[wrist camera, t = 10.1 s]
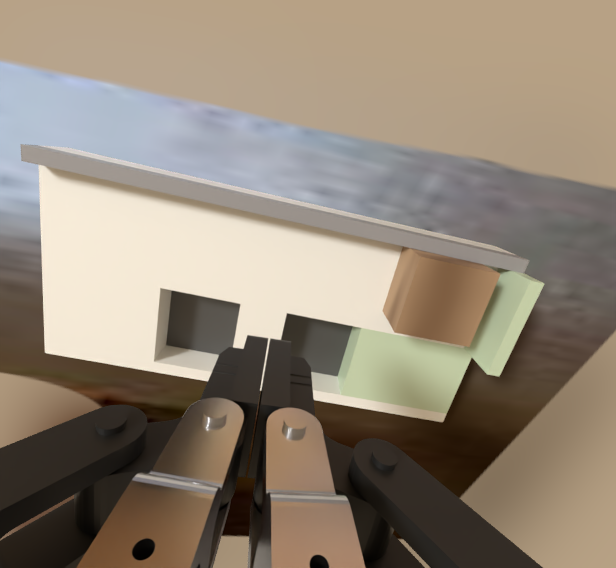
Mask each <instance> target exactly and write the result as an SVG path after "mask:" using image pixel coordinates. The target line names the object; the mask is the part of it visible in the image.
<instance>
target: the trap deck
mask: <svg viewBox="0 0 616 568" xmlns="http://www.w3.org/2000/svg"><path fill="white" fill-rule="evenodd" d="M21 160H22V161H25V162H29V163H33V164H38V165H39V186H40V217H41V247H42V277H43V308H44V338H45V353H49V354H54V355H60V356H66V357H72V358H77V359H83V360H89V361H94V362H100V363H106V364H112V365H117V366H123V367H129V368H134V369H140V370H146V371H152V372H157V373H163V374H169V375H174V376H180V377H186V378H192V379H197V380H203V381H208V380H209V378H210V375H211V373H212V371H213V368H214V366H215V364H216V361H217V359H218V356H219V354H220V353H221V352H223V351H224V350H226V349H227V348H228V347H234V348H240V349H244V345H245V342H246V338H247V335H251V336H258V337H264V338H268V344H267V350H266V357H265V363H264V369H263V375H262V381H261V388H260V391H261V389H262V383H263V377H264V372H265V366H266V360H267V354H268V349H269V343H270V338H271V339H278V340H284V341H291V356H294V357H301V358H304V359H305V360H306V361H307V363H308V364H309V365H310V367H311V375H312V378H311V379H312V387H313V399H314V400H317V401H323V402H329V403H334V404H340V405H346V406H352V407H357V408H363V409H369V410H374V411H380V412H386V413H392V414H397V415H403V416H409V417H415V418H420V419H426V420H432V421H437V422H443V421H444V419H445V417H446V414H447V412H448V410H449V408H450V405H451V403H452V401H453V398H454V396H455V394H456V392H457V389H458V387H459V385H460V383H461V380H462V378H463V376H464V374H465V371H466V369H467V367H468V365H469V362H470V360H471V358H473V359H474V360H475V361H476V362H477V364H478V365H479V366H480V367H481V368H482V369H483V370H484V371H485V373H486V374H489V375H494V376H500V374H501V372H502V370H503V368H504V366H505V364H506V362H507V360H508V358H509V356H510V354H511V352H512V350H513V347H514V345H515V343H516V341H517V339H518V337H519V335H520V333H521V331H522V329H523V327H524V325H525V323H526V321H527V319H528V317H529V314H530V312H531V310H532V308H533V306H534V304H535V302H536V300H537V298H538V296H539V294H540V292H541V290H542V288H543V286H544V283H542V282H540V281H538V280H536V279H534V278H532V277H530V276H528V275H526V274H524V272H525V269H526V267H527V265H528V263H529V260H527V259H524V258H522V257H520V256H517V255H515V254H513V253H510V252H508V251H506V250H503V249H501V248H498V247H496V246H493V245H488V244H484V243H480V242H475V241H471V240H467V239H462V238H458V237H454V236H449V235H445V234H441V233H436V232H432V231H428V230H423V229H419V228H415V227H410V226H406V225H402V224H397V223H393V222H389V221H384V220H380V219H376V218H371V217H367V216H363V215H358V214H354V213H350V212H345V211H341V210H336V209H332V208H328V207H323V206H319V205H315V204H310V203H306V202H302V201H297V200H293V199H289V198H284V197H280V196H276V195H271V194H267V193H263V192H258V191H254V190H250V189H245V188H241V187H237V186H232V185H228V184H224V183H219V182H215V181H211V180H206V179H202V178H198V177H193V176H189V175H185V174H180V173H176V172H172V171H167V170H163V169H159V168H154V167H150V166H146V165H141V164H137V163H133V162H128V161H124V160H120V159H115V158H111V157H107V156H102V155H98V154H94V153H89V152H85V151H81V150H76V149H72V148H66V147H52V146H38V145H23V144H21ZM403 247H408V248H412V249H417V250H421V251H426V252H430V253H435V254H439V255H444V256H448V257H453V258H457V259H461V260H466V261H470V262H475V263H479V264H483V265H485V266H487V267H489V268H491V269H493V270H494V271H496V272H498V273H500V277H499V279H498V281H497V284H496V286H495V288H494V291H493V293H492V295H491V298H490V300H489V302H488V305H487V307H486V309H485V312H484V314H483V316H482V319H481V321H480V323H479V326H478V328H477V330H476V333H475V335H474V337H473V340H472V342H471V344H470V347H467V346H461V345H456V344H451V343H446V342H441V341H436V340H430V339H425V338H420V337H415V336H410V335H404V334H399V333H395V332H394V331H393V329H392V327H391V325H390V323H389V322H388V320H387V318H386V316H385V315H384V313H383V311H382V310H383V307H384V304H385V301H386V298H387V295H388V292H389V289H390V285H391V282H392V279H393V276H394V273H395V270H396V267H397V264H398V260H399V257H400V254H401V251H402V248H403Z"/></svg>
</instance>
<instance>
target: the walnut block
mask: <svg viewBox="0 0 616 568" xmlns="http://www.w3.org/2000/svg"><path fill="white" fill-rule="evenodd" d="M499 277H500V273H498V272H496V271H494V270H493V269H491V268H489V267H487V266H485V265H483V264H479V263H475V262H470V261H466V260H461V259H457V258H453V257H448V256H444V255H439V254H435V253H430V252H426V251H421V250H417V249H412V248H408V247H403V248H402V251H401V254H400V257H399V260H398V264H397V267H396V270H395V273H394V276H393V279H392V282H391V285H390V289H389V292H388V295H387V298H386V301H385V304H384V307H383V310H382V311H383V313H384V315H385V316H386V318H387V320H388V322H389V323H390V325H391V327H392V329H393V331H394V332H395V333H399V334H404V335H410V336H415V337H420V338H425V339H430V340H436V341H441V342H446V343H451V344H456V345H461V346H467V347H470V344H471V342H472V340H473V337H474V335H475V333H476V330H477V328H478V326H479V323H480V321H481V319H482V316H483V314H484V312H485V309H486V307H487V305H488V302H489V300H490V298H491V295H492V293H493V291H494V288H495V286H496V284H497V281H498V279H499Z"/></svg>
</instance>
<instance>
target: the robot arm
mask: <svg viewBox="0 0 616 568" xmlns="http://www.w3.org/2000/svg"><path fill="white" fill-rule="evenodd" d="M267 344H268V338H264V337H258V336H251V335H247V338H246V342H245V345H244V349H240V348H234V347H228V348H227V349H226V350H224V351H223V352H221V353H220V354H219V356H218V359H217V361H216V364H215V366H214V368H213V371H212V373H211V375H210V378H209V380H208V382H207V385H206V387H205V390H204V392H203V394H202V397H201V399H200V400H199V401H197V402H195V403H194V404H192V405H191V406H190V407H189V408H188V409H187V411H186V412H185V414H184V416H183V417H181V418H178V419H175V420H171V421H165V422H156V423H147V418H146V416H145V414H144V413H143V412H142V411H141V410H139V409H137V408H135V407H132V406H127V405H112V406H107V407H102V408H99V409H97V410H94V411H92V412H89V413H87V414H84V415H82V416H79V417H77V418H74V419H72V420H69V421H67V422H64V423H62V424H59V425H57V426H54V427H52V428H50V429H47V430H45V431H42V432H40V433H37V434H35V435H32V436H30V437H27V438H25V439H23V440H20V441H17V442H15V443H12V444H10V445H7V446H5V447H2V448H0V539H1V538H2V537H3V536H4V535H5V534H6V533H8V532H9V531H11V530H12V529H14V528H15V527H17V526H19V525H20V524H22V523H24V522H26V521H28V520H30V519H31V518H33V517H35V516H37V515H38V514H40V513H42V512H44V511H46V510H47V509H49V508H51V507H53V506H54V505H56V504H58V503H60V502H62V501H63V500H65V499H67V498H68V497H70V496H72V495H74V499H72V500H70V501H69V502H67V503H65V504H63V505H62V506H60V507H58V508H57V509H55V510H53V511H51V512H49V513H48V514H46V515H45V516H42V517H41V518H39V519H37V520H35V521H34V522H32V523H30V524H29V525H27V526H25V527H23V528H22V529H20V530H18V531H16V532H14V533H13V534H11V535H9V536H7V537H6V538H4V539H2V540H1V541H0V568H213V564H214V561H215V557H216V554H217V550H218V546H219V543H220V539H221V536H222V532H223V529H224V525H225V521H226V518H227V514H228V511H229V507H230V502H231V498H232V496H233V494H234V492H235V488H236V482H237V477H245V475H246V470H247V464H248V458H249V452H250V446H251V441H252V435H253V429H254V423H255V418H256V412H257V406H258V400H259V394H260V388H261V381H262V375H263V369H264V363H265V357H266V350H267ZM311 378H312V375H311V367H310V365H309V364H308V363H307V361H306V360H305V359H304V358H301V357H294V356H291V341H284V340H278V339H271V338H270V343H269V349H268V354H267V360H266V366H265V372H264V377H263V383H262V389H261V395H260V402H259V408H258V415H257V421H256V427H255V434H254V440H253V447H252V453H251V460H250V466H249V472H248V478H256V479H255V487H254V493H253V499H252V504H251V513H250V533H249V552H248V568H424V567H423V565H422V564H421V563H420V562H419V561H418V560H417V559H416V558H415V557H414V556H413V555H412V554H411V553H410V552H409V551H408V549H407V548H406V547H405V546H404V545H403V544H402V543H401V542H400V541H399V540H398V539H397V538H396V537H395V536H394V535H393V531H394V530H395V531H396V532H397V533H398V534H399V535H400V536H401V537H402V538H403V539H404V540H405V541H406V542H407V543H408V544H409V546H411V547H412V549H413V550H414V551H415V552H416V553H417V554H418V555H419V556H420V557H421V558H422V559H423V560H424V561H425V562H426V563H427V564H428V565H429V566H430V567H431V568H542V567H541V566H540V565H539V564H538V563H536V562H535V561H534V560H533V559H532V558H530V557H529V556H528V555H527V554H525V553H524V552H523V551H522V550H521V549H519V548H518V547H517V546H516V545H515V544H514V543H512V542H511V541H510V540H509V539H507V538H506V537H505V536H504V535H503V534H501V533H500V532H499V531H498V530H497V529H495V528H494V527H493V526H492V525H491V524H489V523H488V522H487V521H486V520H484V519H483V518H482V517H481V516H480V515H479V514H477V513H476V512H475V511H473V509H471V508H470V507H469V506H468V505H466V504H465V503H464V502H463V501H462V500H460V499H459V498H458V497H457V496H456V495H454V494H453V493H452V492H451V491H450V490H448V489H447V488H446V487H445V486H444V485H442V484H441V483H440V482H439V481H438V480H436V479H435V478H434V477H433V476H432V475H430V474H429V473H428V472H427V471H425V470H424V469H423V468H422V467H421V466H419V465H418V464H417V463H416V462H415V461H413V460H412V459H411V458H410V457H409V456H407V455H406V454H405V453H404V452H403V451H401V450H400V449H399V448H397V447H396V446H394V445H393V444H391V443H389V442H387V441H384V440H380V439H373V438H372V439H364V440H362V441H360V442H359V443H358V444H357V445H356V446H355V448H354V449H352V448H350V447H347V446H344V445H342V444H339V443H337V442H335V441H333V440H331V439H330V438H328V437H327V436H326V435H325V434H324V433H323V431H322V427H321V424H320V423H319V421H318V420H317V419H316V418H315V411H314V399H313V387H312V379H311Z"/></svg>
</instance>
